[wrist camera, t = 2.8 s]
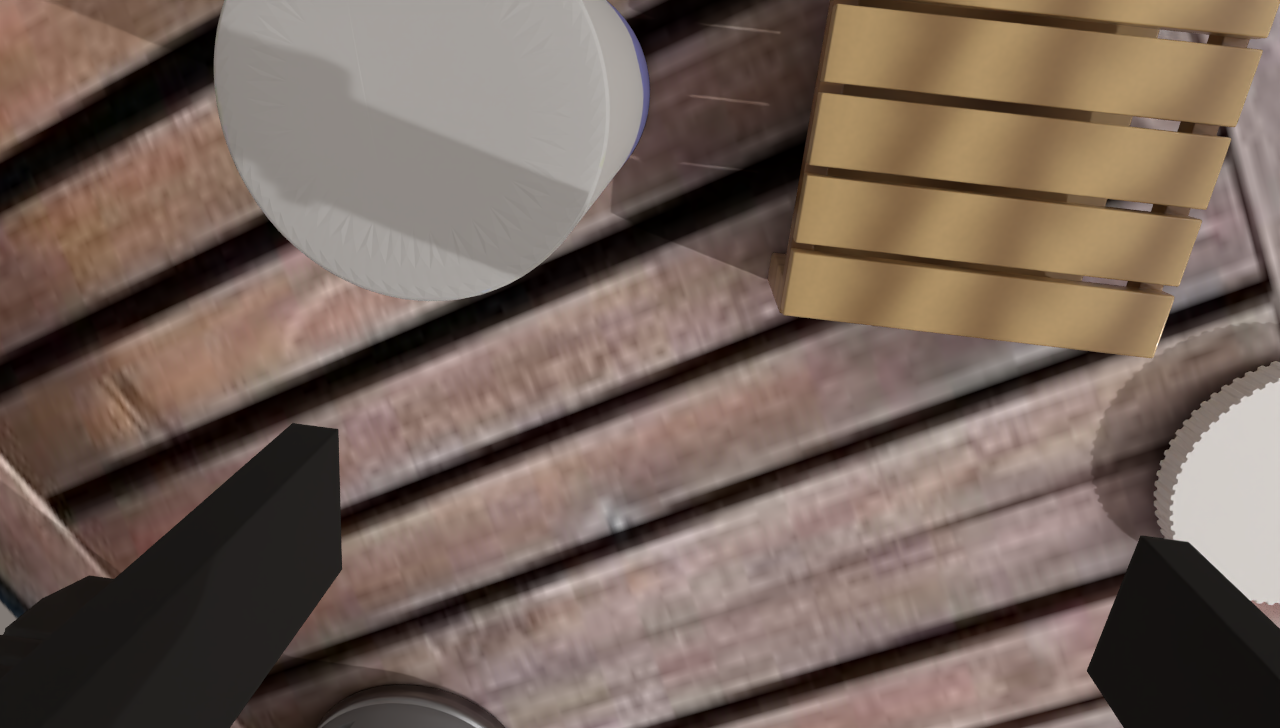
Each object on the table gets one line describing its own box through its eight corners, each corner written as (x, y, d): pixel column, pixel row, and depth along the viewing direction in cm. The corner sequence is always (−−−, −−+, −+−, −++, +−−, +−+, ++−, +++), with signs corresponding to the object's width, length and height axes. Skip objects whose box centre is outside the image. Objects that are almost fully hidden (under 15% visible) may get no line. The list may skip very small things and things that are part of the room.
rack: (767, 280, 41) (781, 319, 34) (824, -67, 35) (855, -99, 29) (1077, 316, 40) (1152, 363, 34) (1185, -28, 35) (1300, -52, 28)
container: (418, 9, 37) (140, -59, 18) (622, -47, 36) (546, -182, 17) (480, 215, 40) (297, 336, 22) (670, 171, 39) (649, 259, 20)
